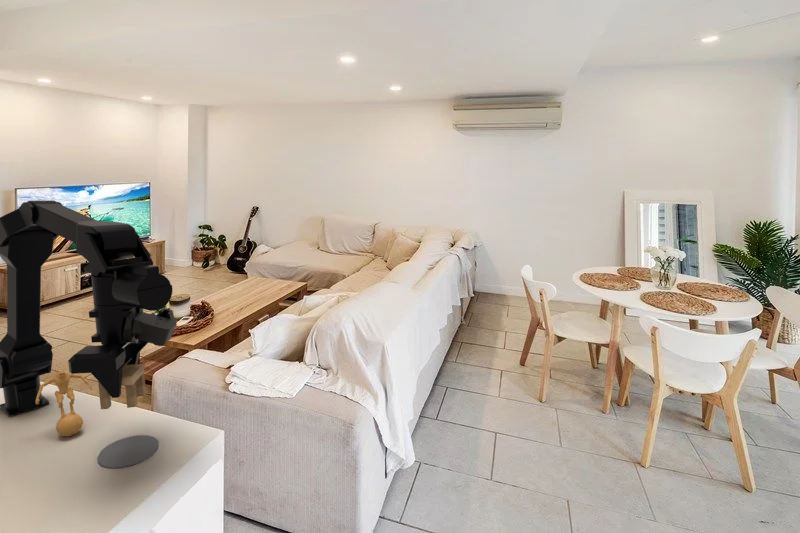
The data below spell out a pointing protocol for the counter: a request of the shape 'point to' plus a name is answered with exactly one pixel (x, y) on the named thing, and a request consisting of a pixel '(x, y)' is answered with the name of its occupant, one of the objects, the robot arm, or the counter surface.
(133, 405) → the oak stool
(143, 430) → the counter surface
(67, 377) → the figurine
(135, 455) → the charcoal mat
